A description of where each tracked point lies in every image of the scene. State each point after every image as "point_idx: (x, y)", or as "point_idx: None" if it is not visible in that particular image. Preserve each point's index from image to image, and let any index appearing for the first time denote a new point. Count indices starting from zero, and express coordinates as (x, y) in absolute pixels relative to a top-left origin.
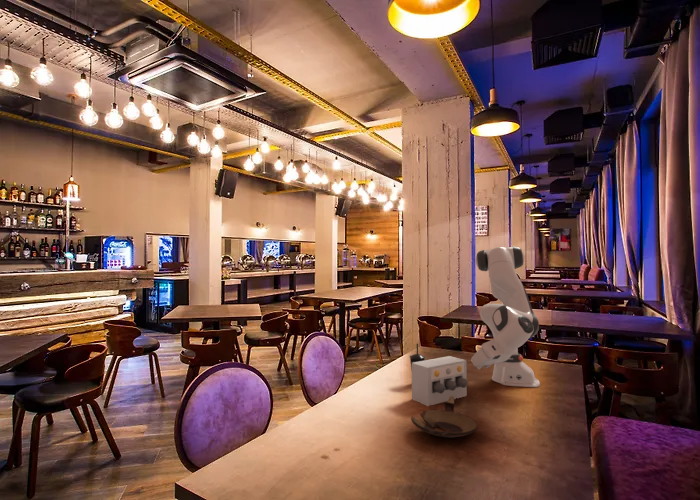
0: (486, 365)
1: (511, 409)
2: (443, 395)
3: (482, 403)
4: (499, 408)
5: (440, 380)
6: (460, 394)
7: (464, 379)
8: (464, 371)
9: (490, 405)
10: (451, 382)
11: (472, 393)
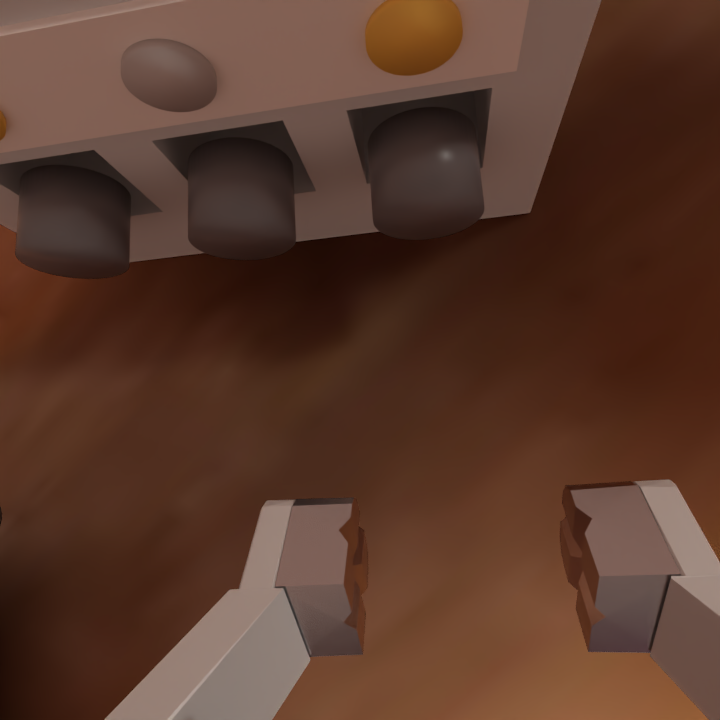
0: (580, 597)
1: (657, 685)
2: None
3: (515, 423)
4: (564, 599)
5: (100, 153)
6: None
7: (432, 195)
8: (541, 48)
9: (545, 498)
10: (202, 224)
11: (634, 182)
